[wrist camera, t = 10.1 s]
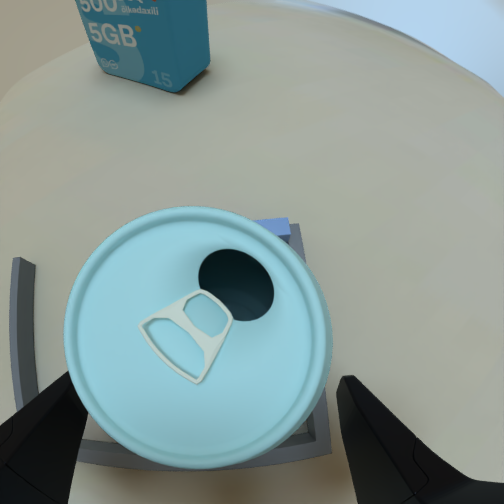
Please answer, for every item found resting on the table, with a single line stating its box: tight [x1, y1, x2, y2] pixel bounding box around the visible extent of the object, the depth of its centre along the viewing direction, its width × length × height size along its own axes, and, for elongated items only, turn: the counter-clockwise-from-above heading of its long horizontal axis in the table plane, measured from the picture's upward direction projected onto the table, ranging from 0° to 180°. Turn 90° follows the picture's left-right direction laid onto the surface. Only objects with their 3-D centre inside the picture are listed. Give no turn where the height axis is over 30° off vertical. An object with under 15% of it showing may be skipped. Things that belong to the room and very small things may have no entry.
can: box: [63, 206, 333, 469], centre depth 11 cm, size 7×7×12 cm
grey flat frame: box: [9, 217, 332, 471], centre depth 15 cm, size 14×20×3 cm
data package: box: [75, 0, 210, 92], centre depth 19 cm, size 12×4×12 cm, turn 59°
